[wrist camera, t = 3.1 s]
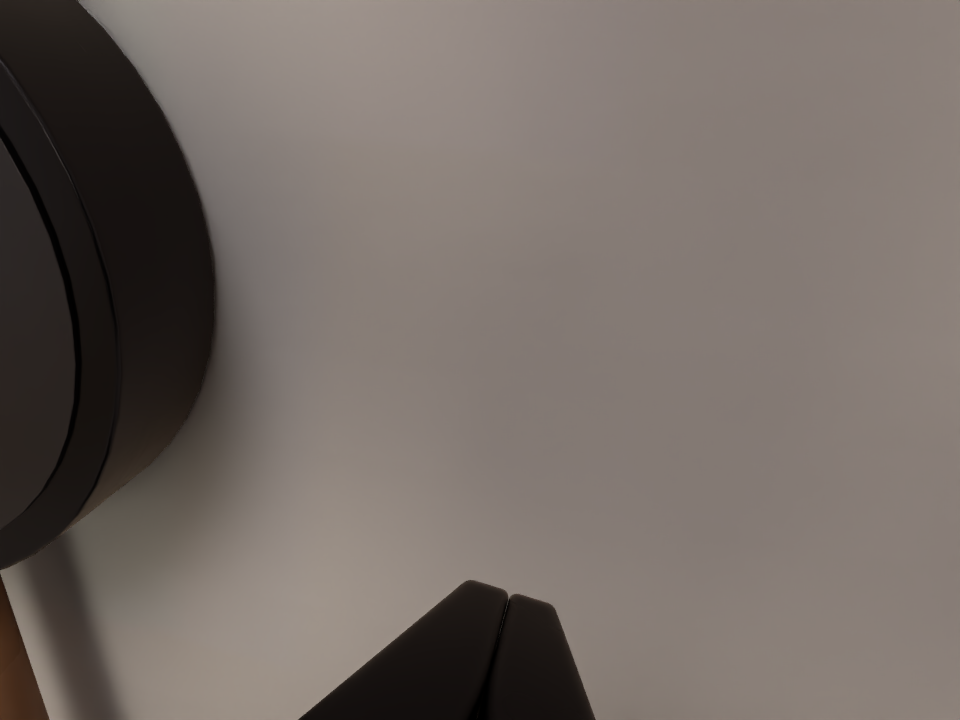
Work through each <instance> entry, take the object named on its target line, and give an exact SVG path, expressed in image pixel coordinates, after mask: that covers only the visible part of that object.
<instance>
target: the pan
mask: <svg viewBox="0 0 960 720" xmlns="http://www.w3.org/2000/svg"><path fill="white" fill-rule="evenodd" d="M213 325H214V276H213V268H212V260H211V252H210V244H209V238H208V234H207V230H206V226H205V222H204V217H203V213H202V209H201V205H200V201H199V197H198V194H197V192H196V189H195V186H194V183H193V181H192V178H191V175H190V172H189V170H188V167H187V164H186V162H185V159H184V156H183V153H182V151H181V149H180V147H179V145H178V143H177V141H176V139H175V137H174V135H173V133H172V131H171V129H170V127H169V125H168V123H167V121H166V119H165V117H164V115H163V113H162V111H161V109H160V107H159V106H158V104H157V102H156V101H155V99H154V98H153V96H152V95H151V93H150V91H149V90H148V88H147V87H146V85H145V83H144V82H143V80H142V79H141V77H140V75H139V74H138V72H137V71H136V69H135V68H134V66H133V65H132V64H131V63H130V61H129V60H128V59H127V57H126V56H125V55H124V54H123V52H122V51H121V50H120V49H119V47H118V46H117V45H116V43H115V42H114V41H113V40H112V38H111V37H110V36H109V35H108V33H107V32H106V31H105V30H104V28H103V27H102V26H101V25H100V24H99V23H98V22H97V21H96V20H95V19H94V18H93V17H92V16H91V15H90V14H89V13H88V12H87V11H86V10H85V9H84V8H83V7H82V6H81V5H80V4H79V3H78V2H77V1H76V0H0V570H2V569H5V568H8V567H10V566H12V565H14V564H17V563H19V562H21V561H23V560H25V559H27V558H29V557H31V556H33V555H35V554H36V553H38V552H39V551H41V550H42V549H43V548H45V547H46V546H47V545H49V544H50V543H52V542H53V541H54V540H56V539H57V538H58V537H60V536H61V535H62V534H63V533H65V532H66V531H67V530H68V529H70V528H71V527H72V526H73V525H75V524H76V523H77V522H79V521H80V520H81V519H82V518H84V517H85V516H86V515H87V514H89V513H90V512H91V511H92V510H94V509H95V508H96V507H97V506H99V505H100V504H101V503H102V502H104V501H105V500H106V499H107V498H109V497H110V496H111V495H112V494H114V493H115V492H116V491H117V490H119V489H120V488H121V487H122V486H124V485H125V484H126V483H127V482H129V481H130V480H131V479H133V478H134V477H135V476H136V475H138V474H139V473H140V472H141V471H143V470H144V469H145V468H146V467H148V466H149V465H150V464H151V463H152V462H153V461H154V460H155V459H156V458H157V457H158V456H159V455H160V454H161V453H162V452H163V450H164V449H165V448H166V447H167V446H168V445H169V444H170V443H171V441H172V440H173V438H174V437H175V435H176V434H177V433H178V431H179V430H180V428H181V427H182V425H183V424H184V422H185V421H186V419H187V417H188V415H189V413H190V410H191V408H192V406H193V404H194V402H195V399H196V397H197V395H198V393H199V391H200V388H201V384H202V381H203V377H204V373H205V370H206V366H207V363H208V359H209V356H210V348H211V340H212V333H213ZM0 720H50V719H49V716H48V713H47V710H46V708H45V705H44V702H43V699H42V696H41V693H40V690H39V687H38V684H37V681H36V678H35V675H34V672H33V669H32V666H31V663H30V660H29V657H28V654H27V651H26V648H25V645H24V642H23V639H22V636H21V634H20V631H19V628H18V625H17V622H16V619H15V616H14V613H13V610H12V607H11V604H10V601H9V598H8V595H7V592H6V589H5V586H4V583H3V580H2V577H1V574H0Z"/></svg>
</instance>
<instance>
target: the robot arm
mask: <svg viewBox="0 0 960 720" xmlns="http://www.w3.org/2000/svg"><path fill="white" fill-rule="evenodd" d="M507 603H508V605H507ZM506 607H507V608H506ZM505 610H506V612H505ZM504 614H505V616H504ZM503 618H504V619H503ZM502 622H503V623H502ZM501 626H502V627H501ZM499 633H500V634H499ZM498 637H499V638H498ZM298 720H596V719H595V717H594V714H593V711H592V708H591V706H590V703H589V700H588V697H587V695H586V692H585V689H584V687H583V684H582V681H581V678H580V676H579V673H578V670H577V667H576V665H575V662H574V659H573V656H572V654H571V651H570V648H569V645H568V643H567V640H566V637H565V634H564V632H563V629H562V626H561V623H560V621H559V618H558V615H557V613H556V610H555V608H554V607H553V606H552V605H551V604H549V603H547V602H543V601H540V600H537V599H534V598H530V597H527V596H524V595H520V594H514V595H512V596H511V597H510V598H509V601H508V593H507V592H506V591H505V590H503V589H501V588H497V587H494V586H491V585H488V584H484V583H481V582H478V581H475V580H468V581H465V582H464V583H463V584H461V585H460V586H459V587H458V588H456V589H455V590H454V591H453V592H452V593H450V594H449V595H448V596H447V597H446V598H444V599H443V600H442V601H441V602H440V603H438V604H437V605H436V606H435V607H434V608H432V609H431V610H430V611H429V612H428V613H426V614H425V615H424V616H423V617H421V618H420V619H419V620H418V621H417V622H415V623H414V624H413V625H412V626H411V627H409V628H408V629H407V630H406V631H405V632H403V633H402V634H401V635H400V636H399V637H397V638H396V639H395V640H394V641H392V642H391V643H390V644H389V645H388V646H386V647H385V648H384V649H383V650H382V651H380V652H379V653H378V654H377V655H376V656H374V657H373V658H372V659H371V660H370V661H368V662H367V663H366V664H365V665H364V666H362V667H361V668H360V669H359V670H357V671H356V672H355V673H354V674H353V675H351V676H350V677H349V678H348V679H347V680H345V681H344V682H343V683H342V684H341V685H339V686H338V687H337V688H336V689H335V690H333V691H332V692H331V693H330V694H329V695H327V696H326V697H325V698H324V699H322V700H321V701H320V702H319V703H318V704H316V705H315V706H314V707H313V708H312V709H310V710H309V711H308V712H307V713H306V714H304V715H303V716H302V717H301V718H300V719H298Z"/></svg>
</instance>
